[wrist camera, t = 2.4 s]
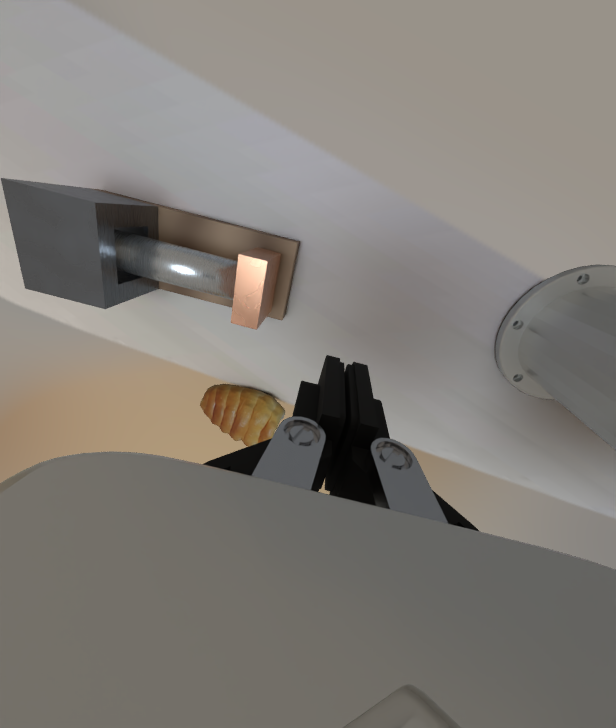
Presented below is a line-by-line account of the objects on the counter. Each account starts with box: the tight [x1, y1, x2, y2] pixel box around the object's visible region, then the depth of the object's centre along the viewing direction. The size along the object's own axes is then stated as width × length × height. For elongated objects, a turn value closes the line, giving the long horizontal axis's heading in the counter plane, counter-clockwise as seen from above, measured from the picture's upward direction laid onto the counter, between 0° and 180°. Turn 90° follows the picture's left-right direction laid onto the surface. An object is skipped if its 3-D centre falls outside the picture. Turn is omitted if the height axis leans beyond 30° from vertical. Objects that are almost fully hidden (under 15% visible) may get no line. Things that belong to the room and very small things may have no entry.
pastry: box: [200, 384, 285, 447], centre depth 33 cm, size 9×7×4 cm
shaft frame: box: [1, 178, 300, 320], centre depth 24 cm, size 18×7×8 cm, turn 77°
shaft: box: [114, 229, 282, 330], centre depth 23 cm, size 13×5×5 cm, turn 77°
